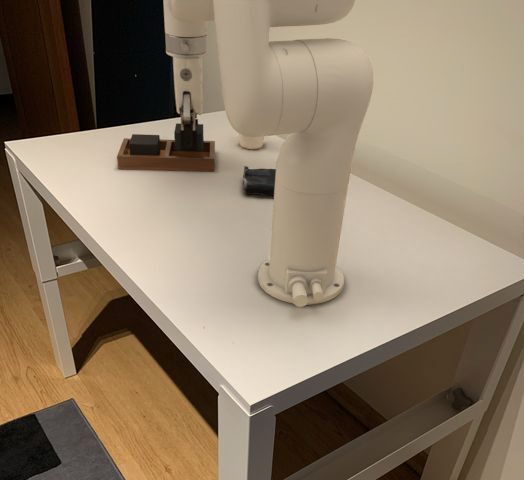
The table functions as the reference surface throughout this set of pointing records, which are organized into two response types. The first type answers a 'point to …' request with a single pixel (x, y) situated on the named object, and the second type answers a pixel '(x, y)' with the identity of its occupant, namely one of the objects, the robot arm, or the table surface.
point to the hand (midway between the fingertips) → (189, 143)
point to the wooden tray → (168, 158)
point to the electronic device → (259, 181)
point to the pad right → (199, 137)
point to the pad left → (144, 144)
